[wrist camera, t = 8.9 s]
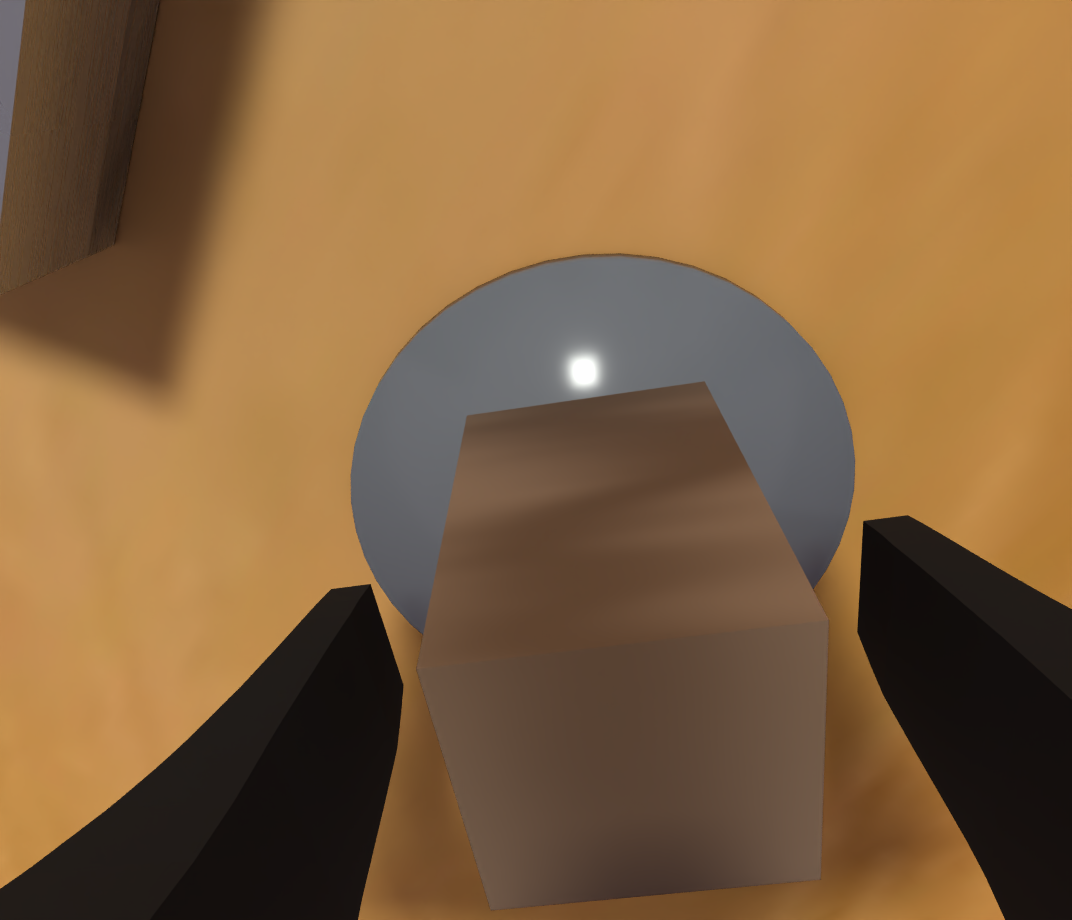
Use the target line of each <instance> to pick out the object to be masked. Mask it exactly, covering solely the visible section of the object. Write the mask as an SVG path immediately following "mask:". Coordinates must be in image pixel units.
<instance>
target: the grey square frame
mask: <svg viewBox="0 0 1072 920" xmlns="http://www.w3.org/2000/svg"><path fill="white" fill-rule="evenodd" d="M159 2H160V0H0V295H1V294H3V293H6V292H8V291H10V290H12V289H15V288H17V287H19V286H22V285H24V284H26V283H28V282H31V281H33V280H35V279H38V278H40V277H42V276H45V275H47V274H49V273H51V272H54V271H56V270H58V269H61V268H63V267H65V266H67V265H70V264H72V263H74V262H77V261H79V260H81V259H83V258H86V257H88V256H90V255H93V254H95V253H97V252H100V251H102V250H104V249H106V248H109V247H111V246H113V245H114V243H115V238H116V232H117V227H118V222H119V216H120V211H121V206H122V200H123V195H124V189H125V184H126V179H127V173H128V168H129V163H130V157H131V152H132V147H133V141H134V136H135V130H136V125H137V120H138V114H139V109H140V104H141V98H142V93H143V87H144V82H145V77H146V71H147V66H148V61H149V55H150V50H151V44H152V39H153V34H154V28H155V23H156V18H157V12H158V7H159Z"/></svg>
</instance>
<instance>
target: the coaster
mask: <svg viewBox="0 0 1072 920" xmlns="http://www.w3.org/2000/svg"><path fill="white" fill-rule="evenodd" d="M703 381H705V383H706V385H707V387H708V389H709V391H710V392H711V394H712V396H713V398H714V400H715V402H716V404H717V406H718V408H719V410H720V412H721V414H722V416H723V417H724V419H725V421H726V423H727V425H728V427H729V429H730V431H731V433H732V435H733V437H734V439H735V441H736V442H737V444H738V446H739V448H740V450H741V452H742V454H743V456H744V458H745V460H746V462H747V464H748V466H749V467H750V469H751V471H752V473H753V475H754V477H755V479H756V481H757V483H758V485H759V487H760V489H761V491H762V492H763V494H764V496H765V498H766V500H767V502H768V504H769V506H770V508H771V510H772V512H773V514H774V516H775V517H776V519H777V521H778V523H779V525H780V527H781V529H782V531H783V533H784V535H785V537H786V539H787V541H788V542H789V544H790V546H791V548H792V550H793V552H794V554H795V556H796V558H797V560H798V562H799V564H800V566H801V567H802V569H803V571H804V573H805V575H806V577H807V579H808V581H809V583H810V585H811V587H812V589H814V587H815V586H816V584H817V583H818V581H819V580H820V578H821V577H822V575H823V574H824V573H825V571H826V570H827V568H828V566H829V564H830V562H831V560H832V558H833V556H834V554H835V552H836V550H837V548H838V546H839V544H840V541H841V538H842V535H843V532H844V530H845V527H846V524H847V521H848V518H849V513H850V508H851V503H852V497H853V492H854V477H855V455H854V447H853V439H852V431H851V427H850V424H849V420H848V417H847V413H846V410H845V406H844V403H843V401H842V398H841V396H840V394H839V392H838V390H837V388H836V386H835V384H834V381H833V379H832V377H831V375H830V373H829V372H828V370H827V369H826V368H825V366H824V365H823V363H822V362H821V360H820V359H819V357H818V356H817V354H816V353H815V351H814V350H813V348H812V347H811V346H810V345H809V344H808V343H807V342H806V341H805V340H804V339H803V338H802V337H801V336H800V335H799V333H798V332H797V331H796V330H795V329H794V328H793V327H792V326H791V325H790V324H789V323H788V322H787V321H786V320H785V319H784V318H783V317H782V316H781V315H780V314H779V313H777V312H776V311H775V310H773V309H772V308H771V307H770V306H768V305H767V304H766V303H765V302H763V301H762V300H761V299H759V298H758V297H757V296H755V295H754V294H752V293H750V292H748V291H747V290H745V289H743V288H741V287H740V286H738V285H736V284H734V283H733V282H731V281H729V280H727V279H725V278H723V277H720V276H718V275H715V274H713V273H710V272H708V271H705V270H702V269H700V268H697V267H695V266H692V265H688V264H684V263H679V262H675V261H671V260H667V259H663V258H659V257H651V256H641V255H631V254H621V253H618V254H587V255H578V256H572V257H566V258H559V259H553V260H547V261H543V262H540V263H537V264H534V265H530V266H527V267H524V268H520V269H517V270H514V271H511V272H508V273H506V274H504V275H502V276H500V277H497V278H495V279H493V280H491V281H489V282H486V283H484V284H482V285H480V286H478V287H476V288H474V289H473V290H471V291H470V292H468V293H466V294H465V295H463V296H462V297H460V298H458V299H457V300H455V301H454V302H452V303H451V304H449V305H447V306H446V307H445V308H444V309H443V310H441V311H440V312H439V313H438V314H437V315H435V316H434V317H433V318H432V319H431V320H430V321H428V322H427V323H426V324H425V325H424V326H422V327H421V328H420V329H419V330H418V332H417V333H416V334H415V335H414V336H413V337H412V338H411V339H410V340H409V342H408V343H407V344H406V345H405V346H404V347H403V348H402V349H401V350H400V352H399V353H398V354H397V356H396V357H395V359H394V360H393V362H392V363H391V365H390V366H389V368H388V369H387V371H386V372H385V374H384V375H383V377H382V378H381V380H380V382H379V384H378V386H377V388H376V390H375V393H374V395H373V397H372V399H371V401H370V403H369V405H368V408H367V410H366V412H365V414H364V416H363V419H362V422H361V426H360V429H359V433H358V436H357V439H356V443H355V447H354V454H353V462H352V469H351V504H352V510H353V516H354V522H355V528H356V532H357V535H358V538H359V541H360V544H361V547H362V550H363V553H364V556H365V558H366V560H367V562H368V564H369V566H370V568H371V570H372V572H373V574H374V577H375V579H376V581H377V582H378V584H379V585H380V587H381V588H382V589H383V591H384V592H385V594H386V595H387V597H388V598H389V600H390V601H391V603H392V604H393V605H394V606H395V607H396V608H397V609H398V611H399V612H400V613H401V614H402V615H403V616H404V617H405V618H406V620H407V621H408V622H409V623H410V624H411V625H412V626H413V627H415V628H416V629H417V630H418V631H419V632H420V633H422V634H423V633H424V628H425V623H426V618H427V613H428V608H429V603H430V598H431V593H432V588H433V583H434V578H435V573H436V568H437V563H438V558H439V553H440V548H441V543H442V538H443V533H444V528H445V523H446V518H447V513H448V508H449V503H450V498H451V493H452V488H453V482H454V477H455V472H456V467H457V462H458V457H459V452H460V447H461V442H462V437H463V432H464V427H465V422H466V417H467V415H474V414H481V413H488V412H495V411H501V410H508V409H515V408H522V407H529V406H536V405H543V404H550V403H557V402H564V401H571V400H578V399H585V398H592V397H599V396H606V395H613V394H619V393H626V392H633V391H640V390H647V389H654V388H661V387H668V386H675V385H682V384H689V383H696V382H703Z"/></svg>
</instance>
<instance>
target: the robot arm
mask: <svg viewBox="0 0 1072 920" xmlns="http://www.w3.org/2000/svg"><path fill="white" fill-rule="evenodd" d="M857 632H858V635H859V637H860V640H861V642H862V645H863V647H864V650H865V652H866V655H867V657H868V660H869V662H870V665H871V667H872V670H873V672H874V674H875V677H876V679H877V681H878V684H879V686H880V688H881V691H882V693H883V695H884V697H885V699H886V701H887V703H888V704H889V706H890V708H891V710H892V712H893V713H894V715H895V717H896V719H897V720H898V722H899V724H900V726H901V728H902V729H903V731H904V733H905V735H906V736H907V738H908V740H909V742H910V743H911V745H912V747H913V749H914V750H915V752H916V754H917V756H918V757H919V759H920V761H921V762H922V764H923V766H924V768H925V769H926V771H927V773H928V775H929V776H930V778H931V780H932V781H933V783H934V785H935V787H936V788H937V790H938V792H939V794H940V795H941V797H942V799H943V801H944V802H945V804H946V806H947V807H948V809H949V811H950V813H951V814H952V816H953V818H954V820H955V821H956V823H957V825H958V827H959V828H960V830H961V832H962V833H963V835H964V837H965V839H966V840H967V842H968V844H969V846H970V848H971V850H972V852H973V854H974V856H975V857H976V859H977V861H978V863H979V865H980V867H981V869H982V871H983V873H984V875H985V877H986V879H987V881H988V883H989V885H990V887H991V890H992V892H993V894H994V896H995V898H996V901H997V903H998V905H999V907H1000V909H1001V912H1002V914H1003V916H1004V918H1005V920H1072V609H1070V608H1068V607H1067V606H1065V605H1063V604H1061V603H1059V602H1057V601H1055V600H1054V599H1052V598H1050V597H1048V596H1046V595H1045V594H1043V593H1041V592H1039V591H1037V590H1036V589H1034V588H1032V587H1030V586H1029V585H1027V584H1025V583H1023V582H1022V581H1020V580H1018V579H1016V578H1015V577H1013V576H1011V575H1009V574H1008V573H1006V572H1004V571H1002V570H1001V569H999V568H997V567H996V566H994V565H992V564H991V563H989V562H987V561H985V560H984V559H982V558H980V557H979V556H977V555H975V554H974V553H972V552H970V551H969V550H967V549H965V548H964V547H962V546H960V545H959V544H957V543H955V542H954V541H952V540H950V539H949V538H947V537H945V536H943V535H942V534H940V533H938V532H937V531H935V530H933V529H932V528H930V527H928V526H926V525H925V524H923V523H921V522H919V521H917V520H915V519H914V518H912V517H910V516H908V515H907V516H899V517H891V518H883V519H875V520H868V521H863V537H862V556H861V575H860V594H859V612H858V631H857ZM402 696H403V682H402V679H401V676H400V673H399V670H398V667H397V664H396V661H395V658H394V655H393V651H392V648H391V645H390V642H389V639H388V636H387V633H386V630H385V627H384V624H383V621H382V618H381V615H380V612H379V609H378V606H377V603H376V599H375V596H374V593H373V590H372V587H371V584H368V585H360V586H352V587H344V588H337V589H331V590H330V591H329V592H328V593H327V594H326V595H325V596H324V597H323V598H322V599H321V600H320V601H319V602H318V603H317V604H316V605H315V606H314V608H313V609H312V610H311V611H310V612H309V613H308V614H307V615H306V616H305V617H304V619H303V620H302V621H301V622H300V623H299V624H298V625H297V626H296V627H295V628H294V630H293V631H292V632H291V633H290V634H289V635H288V636H287V637H286V638H285V640H284V641H283V642H282V643H281V644H280V645H279V646H278V647H277V648H276V649H275V650H274V652H273V653H272V654H271V655H270V656H269V657H268V658H267V659H266V660H265V661H264V662H263V663H262V664H261V666H260V667H259V668H258V669H257V670H256V671H255V672H254V673H253V674H252V675H251V676H250V677H249V679H248V680H247V681H246V682H245V683H244V684H243V685H242V686H241V687H240V688H239V689H238V690H237V691H236V692H235V693H234V694H233V695H232V696H231V697H230V698H229V699H228V700H227V701H226V702H225V703H224V704H223V705H222V706H221V707H220V708H219V709H218V710H217V711H216V712H215V713H214V714H213V715H212V716H211V717H210V718H209V719H208V720H207V721H206V722H205V723H204V724H203V725H202V726H201V727H200V728H199V729H198V730H197V731H196V732H195V733H194V734H193V735H192V736H191V737H190V738H189V739H188V740H187V741H186V742H184V743H183V744H182V745H181V746H180V747H179V748H178V749H177V750H176V751H175V752H174V753H173V754H171V755H170V756H169V757H168V758H167V759H166V760H165V761H164V762H163V763H161V764H160V765H159V766H158V767H157V768H156V769H155V770H154V771H152V772H151V773H150V774H149V775H148V776H146V777H145V778H144V779H143V780H142V781H141V782H139V783H138V784H137V785H136V786H135V787H134V788H132V789H131V790H130V791H129V792H128V793H126V794H125V795H124V796H123V797H122V798H121V799H119V800H118V801H117V802H116V803H114V804H113V805H112V806H111V807H110V808H108V809H107V810H106V811H105V812H103V813H102V814H101V815H99V816H98V817H97V818H95V819H94V820H93V821H92V822H90V823H89V824H88V825H86V826H85V827H84V828H82V829H81V830H80V831H78V832H77V833H76V834H74V835H73V836H72V837H70V838H69V839H68V840H66V841H65V842H64V843H62V844H61V845H60V846H59V847H57V848H56V849H55V850H53V851H52V852H51V853H49V854H48V855H47V856H45V857H44V858H43V859H41V860H40V861H39V862H37V863H36V864H35V865H33V866H32V867H31V868H29V869H28V870H27V871H25V872H24V873H22V874H21V875H20V876H18V877H17V878H15V879H14V880H12V881H11V882H9V883H8V884H7V885H5V886H4V887H2V888H1V889H0V920H358V917H359V911H360V906H361V901H362V896H363V892H364V888H365V884H366V880H367V875H368V871H369V867H370V863H371V859H372V854H373V850H374V846H375V842H376V838H377V833H378V829H379V825H380V821H381V817H382V812H383V808H384V804H385V800H386V795H387V791H388V787H389V782H390V778H391V774H392V769H393V765H394V760H395V756H396V751H397V745H398V736H399V728H400V719H401V708H402Z"/></svg>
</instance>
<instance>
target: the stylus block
mask: <svg viewBox="0 0 1072 920" xmlns="http://www.w3.org/2000/svg"><path fill="white" fill-rule="evenodd" d="M828 631H829V619H828V618H827V616H826V614H825V612H824V610H823V608H822V606H821V604H820V602H819V600H818V598H817V596H816V594H815V593H814V591H813V589H812V587H811V585H810V583H809V581H808V579H807V577H806V575H805V573H804V571H803V569H802V567H801V566H800V564H799V562H798V560H797V558H796V556H795V554H794V552H793V550H792V548H791V546H790V544H789V542H788V541H787V539H786V537H785V535H784V533H783V531H782V529H781V527H780V525H779V523H778V521H777V519H776V517H775V516H774V514H773V512H772V510H771V508H770V506H769V504H768V502H767V500H766V498H765V496H764V494H763V492H762V491H761V489H760V487H759V485H758V483H757V481H756V479H755V477H754V475H753V473H752V471H751V469H750V467H749V466H748V464H747V462H746V460H745V458H744V456H743V454H742V452H741V450H740V448H739V446H738V444H737V442H736V441H735V439H734V437H733V435H732V433H731V431H730V429H729V427H728V425H727V423H726V421H725V419H724V417H723V416H722V414H721V412H720V410H719V408H718V406H717V404H716V402H715V400H714V398H713V396H712V394H711V392H710V391H709V389H708V387H707V385H706V383H705V381H703V382H696V383H689V384H682V385H675V386H668V387H661V388H654V389H647V390H640V391H633V392H626V393H619V394H613V395H606V396H599V397H592V398H585V399H578V400H571V401H564V402H557V403H550V404H543V405H536V406H529V407H522V408H515V409H508V410H501V411H495V412H488V413H481V414H474V415H467V417H466V422H465V427H464V432H463V437H462V442H461V447H460V452H459V457H458V462H457V467H456V472H455V477H454V482H453V488H452V493H451V498H450V503H449V508H448V513H447V518H446V523H445V528H444V533H443V538H442V543H441V548H440V553H439V558H438V563H437V568H436V573H435V578H434V583H433V588H432V593H431V598H430V603H429V608H428V613H427V618H426V623H425V628H424V633H423V638H422V643H421V648H420V653H419V658H418V663H417V668H416V670H417V673H418V676H419V679H420V683H421V686H422V689H423V692H424V696H425V699H426V702H427V705H428V709H429V712H430V715H431V718H432V721H433V725H434V728H435V731H436V734H437V738H438V741H439V744H440V747H441V751H442V754H443V757H444V760H445V764H446V767H447V770H448V773H449V777H450V780H451V783H452V786H453V789H454V793H455V796H456V799H457V802H458V806H459V809H460V812H461V815H462V819H463V822H464V825H465V828H466V832H467V835H468V838H469V841H470V845H471V848H472V851H473V854H474V858H475V861H476V864H477V867H478V870H479V874H480V877H481V880H482V883H483V887H484V890H485V893H486V896H487V900H488V903H489V906H490V909H491V910H501V909H512V908H522V907H533V906H544V905H554V904H565V903H576V902H587V901H597V900H608V899H619V898H629V897H640V896H651V895H661V894H672V893H683V892H693V891H704V890H715V889H726V888H736V887H747V886H758V885H768V884H779V883H790V882H800V881H811V880H821V853H822V821H823V789H824V757H825V726H826V694H827V662H828Z"/></svg>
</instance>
